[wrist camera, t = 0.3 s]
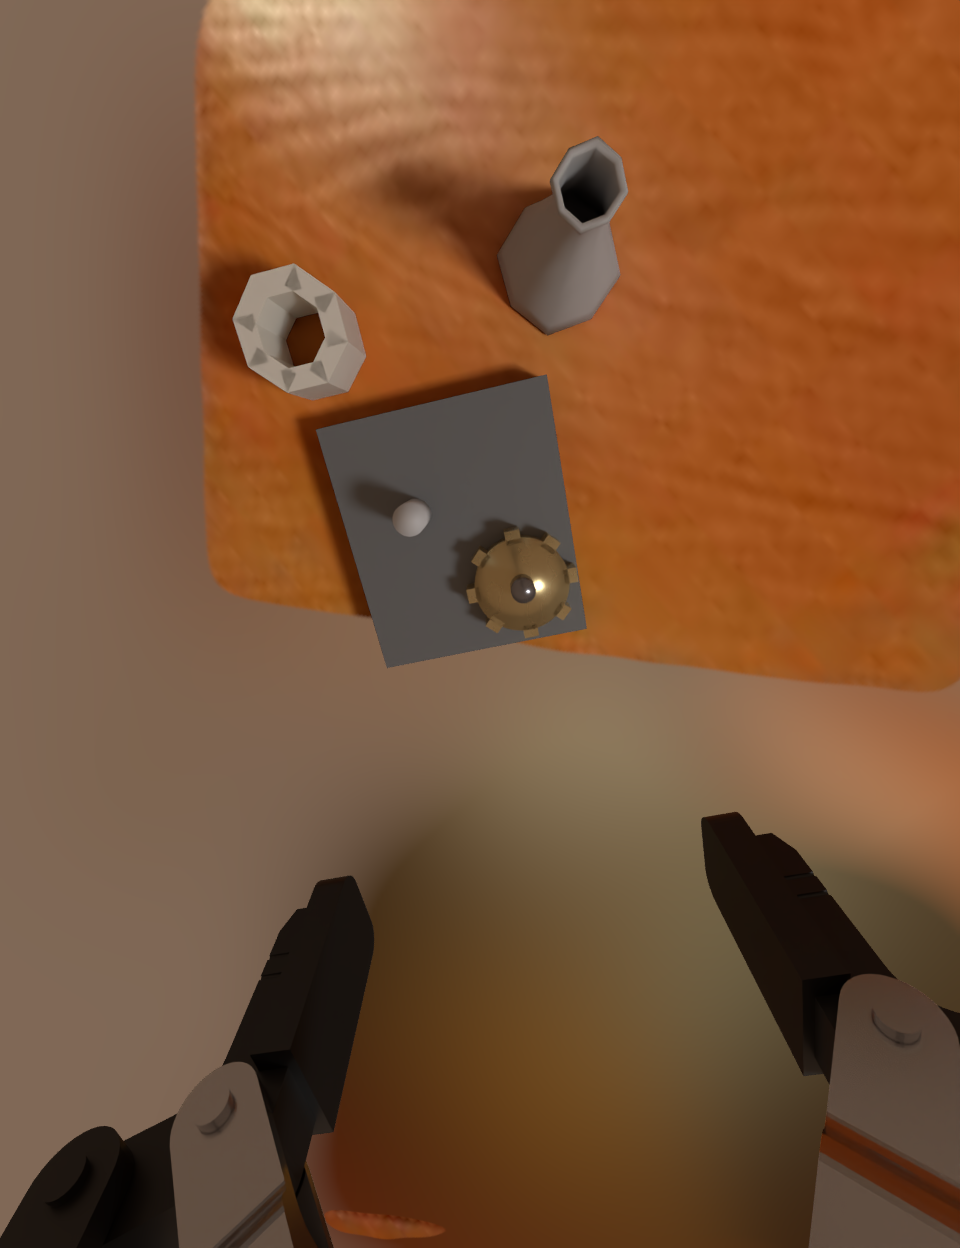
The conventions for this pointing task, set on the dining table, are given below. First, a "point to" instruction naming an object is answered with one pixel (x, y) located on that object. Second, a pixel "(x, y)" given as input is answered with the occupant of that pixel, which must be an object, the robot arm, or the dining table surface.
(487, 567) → the brass gear
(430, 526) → the board
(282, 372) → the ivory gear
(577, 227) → the flask
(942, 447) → the dining table surface
